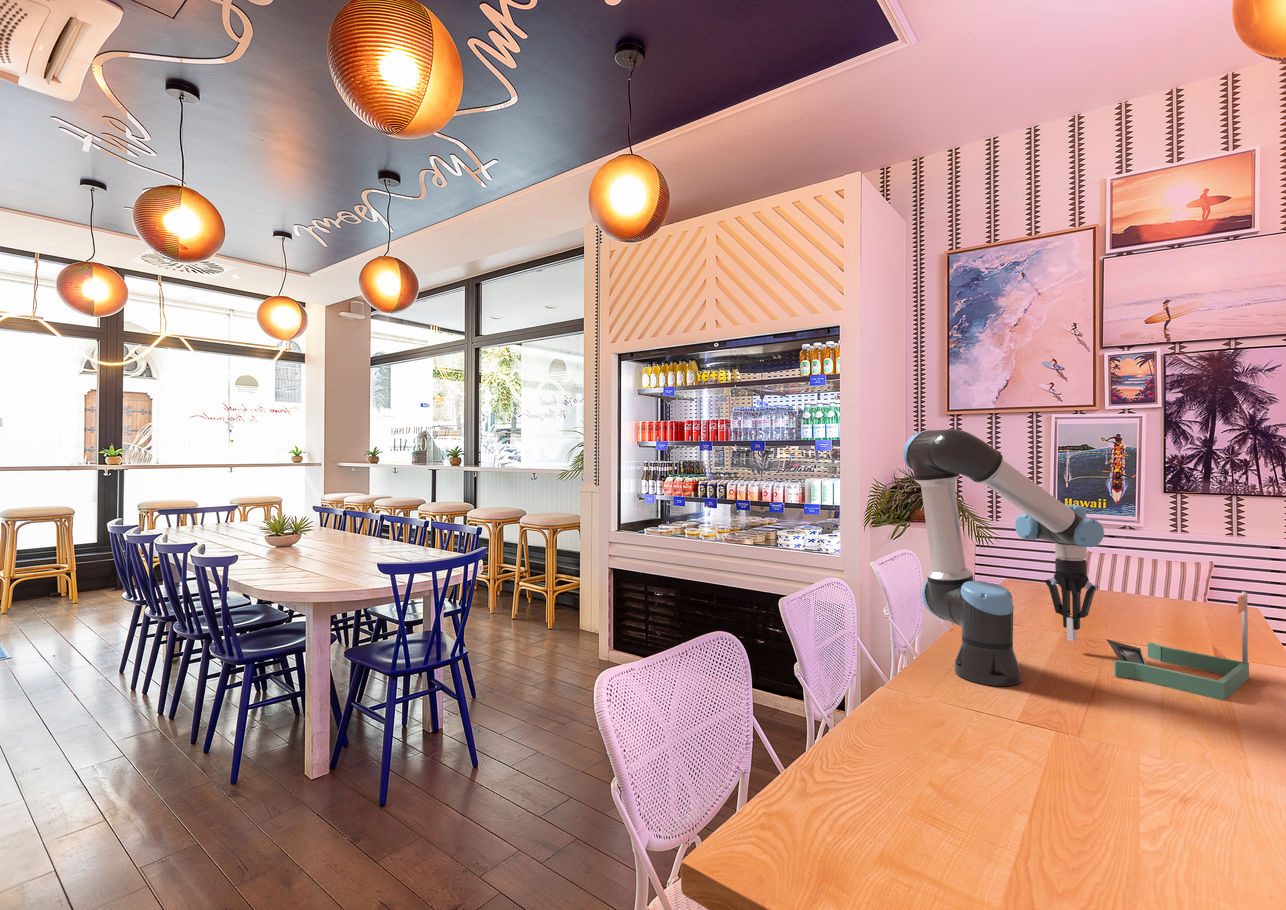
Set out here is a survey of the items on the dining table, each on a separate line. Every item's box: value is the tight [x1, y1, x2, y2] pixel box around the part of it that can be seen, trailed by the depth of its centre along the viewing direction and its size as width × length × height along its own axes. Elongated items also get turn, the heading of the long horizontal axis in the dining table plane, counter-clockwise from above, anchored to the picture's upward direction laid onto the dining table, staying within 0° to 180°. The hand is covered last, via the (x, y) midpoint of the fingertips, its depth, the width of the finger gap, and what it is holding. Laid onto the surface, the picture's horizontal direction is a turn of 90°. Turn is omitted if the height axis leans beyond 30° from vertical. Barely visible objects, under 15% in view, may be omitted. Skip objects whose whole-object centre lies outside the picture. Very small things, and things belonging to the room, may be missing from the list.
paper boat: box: [1106, 638, 1148, 665], centre depth 166 cm, size 12×6×9 cm
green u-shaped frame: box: [1113, 591, 1250, 701], centre depth 159 cm, size 21×27×22 cm
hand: (1071, 639), depth 179 cm, fingers closed
